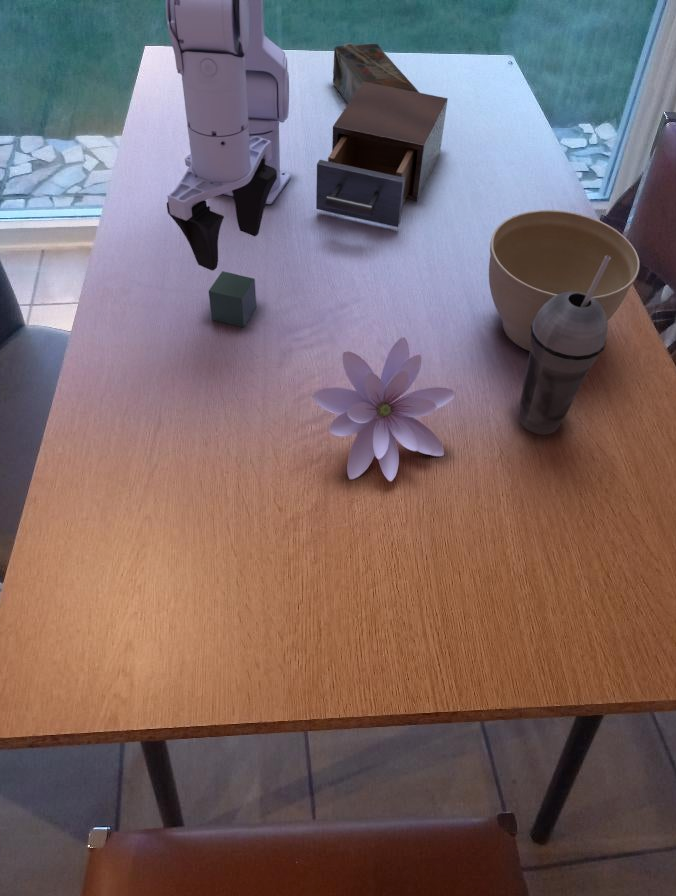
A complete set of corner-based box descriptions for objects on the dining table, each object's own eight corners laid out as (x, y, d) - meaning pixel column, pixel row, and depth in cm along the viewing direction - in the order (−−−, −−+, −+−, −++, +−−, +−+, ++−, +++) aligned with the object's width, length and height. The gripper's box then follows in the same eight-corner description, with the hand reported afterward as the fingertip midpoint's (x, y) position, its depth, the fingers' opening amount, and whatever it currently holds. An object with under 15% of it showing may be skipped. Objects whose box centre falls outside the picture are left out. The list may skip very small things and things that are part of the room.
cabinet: (416, 202, 108) (424, 145, 101) (331, 183, 109) (332, 126, 103) (440, 153, 117) (447, 98, 110) (360, 136, 118) (363, 81, 112)
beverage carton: (376, 80, 130) (379, 37, 125) (419, 135, 120) (424, 90, 115) (331, 84, 128) (332, 40, 123) (371, 140, 118) (374, 95, 113)
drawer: (388, 246, 99) (393, 201, 94) (304, 227, 101) (304, 181, 96) (422, 177, 110) (427, 133, 105) (345, 161, 112) (347, 117, 107)
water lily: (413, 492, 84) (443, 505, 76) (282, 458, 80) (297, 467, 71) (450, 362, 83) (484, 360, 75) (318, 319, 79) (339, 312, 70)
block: (211, 319, 90) (208, 290, 86) (225, 299, 92) (222, 270, 89) (244, 327, 89) (241, 298, 86) (256, 307, 91) (254, 278, 88)
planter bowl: (464, 288, 96) (480, 207, 88) (589, 289, 98) (617, 210, 89) (485, 376, 87) (505, 295, 78) (624, 376, 88) (658, 297, 80)
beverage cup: (499, 395, 85) (545, 232, 69) (564, 395, 86) (623, 233, 70) (512, 444, 80) (564, 282, 65) (580, 443, 81) (647, 282, 65)
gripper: (228, 82, 78) (237, 207, 89) (133, 139, 70) (156, 268, 81) (287, 103, 76) (289, 227, 87) (196, 163, 68) (211, 292, 79)
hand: (228, 248), depth 84 cm, fingers open, 7 cm apart
